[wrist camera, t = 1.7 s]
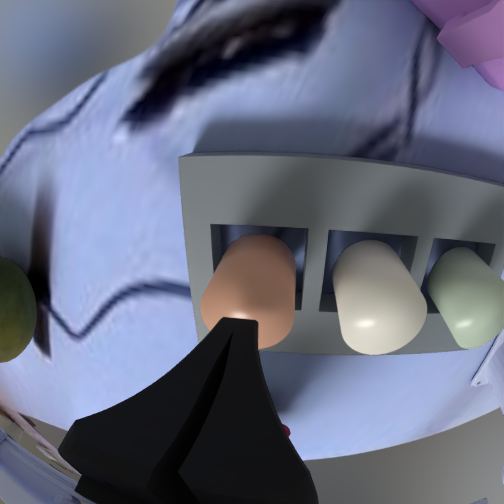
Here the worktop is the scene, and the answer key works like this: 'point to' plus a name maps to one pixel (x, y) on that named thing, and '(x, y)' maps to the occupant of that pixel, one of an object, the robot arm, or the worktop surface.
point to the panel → (335, 226)
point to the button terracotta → (254, 287)
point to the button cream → (376, 298)
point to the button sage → (467, 297)
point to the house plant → (14, 432)
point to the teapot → (471, 33)
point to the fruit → (15, 310)
